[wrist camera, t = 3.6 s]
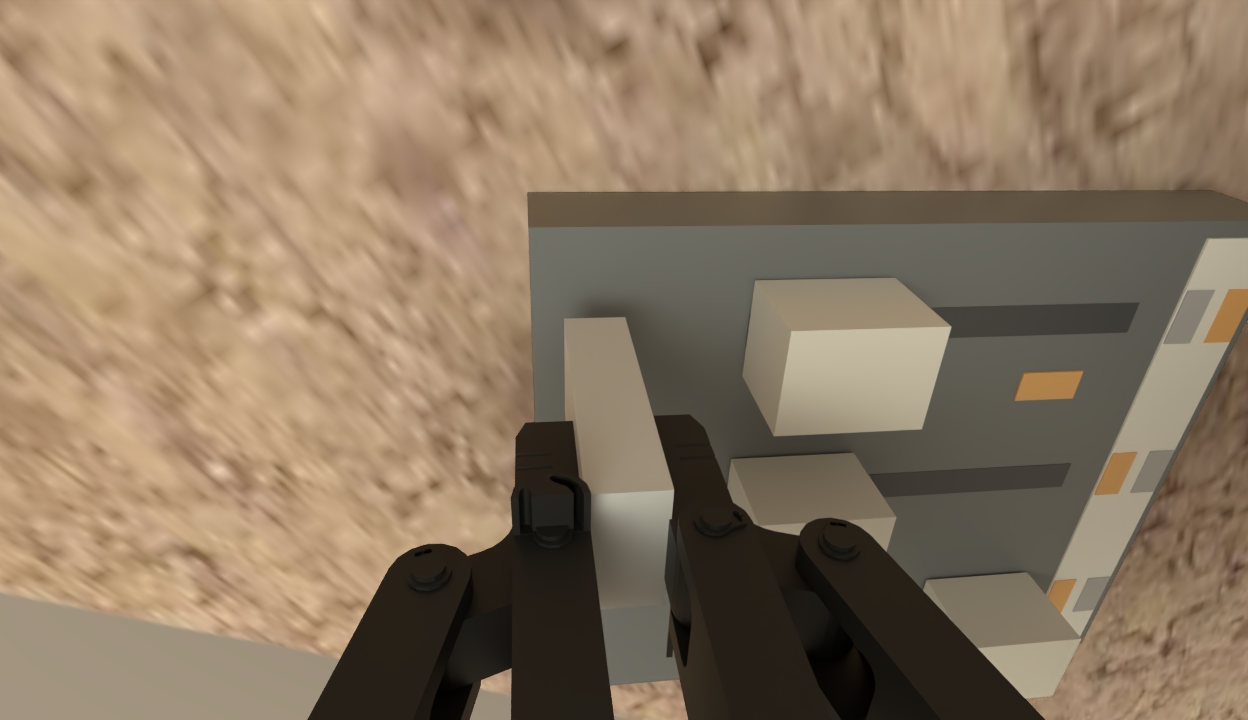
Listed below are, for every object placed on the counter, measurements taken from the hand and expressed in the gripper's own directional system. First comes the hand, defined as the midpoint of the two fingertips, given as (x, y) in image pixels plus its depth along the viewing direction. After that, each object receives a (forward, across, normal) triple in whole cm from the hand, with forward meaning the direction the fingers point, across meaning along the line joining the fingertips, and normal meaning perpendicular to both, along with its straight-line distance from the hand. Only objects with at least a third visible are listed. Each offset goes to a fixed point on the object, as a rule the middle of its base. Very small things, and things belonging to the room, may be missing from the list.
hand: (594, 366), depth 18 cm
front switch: (+2, -6, 0) cm, 7 cm away
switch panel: (+5, -10, +6) cm, 12 cm away
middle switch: (+2, -6, +6) cm, 9 cm away
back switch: (+2, -14, +12) cm, 19 cm away
